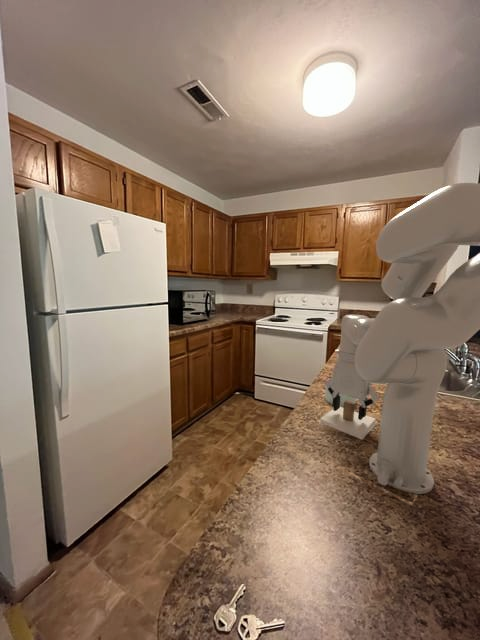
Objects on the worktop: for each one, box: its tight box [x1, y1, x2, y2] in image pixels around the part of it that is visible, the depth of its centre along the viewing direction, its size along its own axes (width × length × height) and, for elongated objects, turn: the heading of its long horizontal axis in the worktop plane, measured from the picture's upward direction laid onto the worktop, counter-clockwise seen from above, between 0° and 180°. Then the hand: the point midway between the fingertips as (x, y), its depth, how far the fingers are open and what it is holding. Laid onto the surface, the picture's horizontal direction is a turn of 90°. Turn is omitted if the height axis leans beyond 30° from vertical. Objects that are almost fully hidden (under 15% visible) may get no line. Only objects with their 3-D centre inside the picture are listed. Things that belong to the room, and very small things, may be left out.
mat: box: [317, 420, 378, 440], centre depth 82 cm, size 13×13×1 cm
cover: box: [319, 401, 376, 438], centre depth 81 cm, size 12×12×6 cm
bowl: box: [324, 386, 357, 408], centre depth 96 cm, size 10×10×6 cm
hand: (348, 413), depth 81 cm, fingers open, 6 cm apart
